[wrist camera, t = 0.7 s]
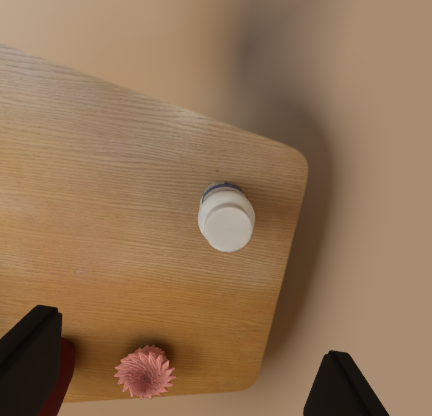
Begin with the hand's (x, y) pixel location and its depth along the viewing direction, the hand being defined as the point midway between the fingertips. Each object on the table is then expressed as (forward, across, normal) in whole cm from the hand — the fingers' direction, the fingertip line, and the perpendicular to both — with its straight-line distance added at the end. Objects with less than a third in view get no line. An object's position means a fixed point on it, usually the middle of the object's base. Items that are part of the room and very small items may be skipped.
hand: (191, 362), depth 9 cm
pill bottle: (+22, -2, -1) cm, 22 cm away
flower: (+22, +3, +23) cm, 32 cm away
